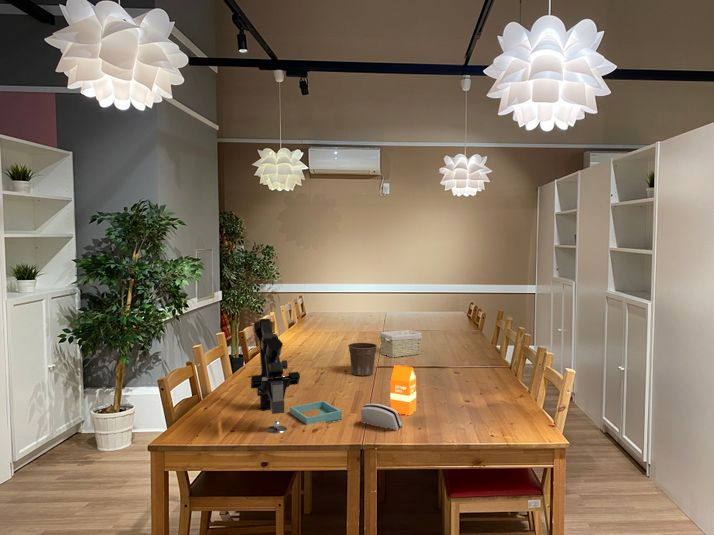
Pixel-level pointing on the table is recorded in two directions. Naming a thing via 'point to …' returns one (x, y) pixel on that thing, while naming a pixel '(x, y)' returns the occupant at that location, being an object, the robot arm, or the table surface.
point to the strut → (277, 398)
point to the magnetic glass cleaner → (380, 416)
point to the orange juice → (403, 390)
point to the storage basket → (400, 343)
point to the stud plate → (272, 430)
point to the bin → (325, 409)
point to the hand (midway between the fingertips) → (277, 399)
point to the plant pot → (362, 358)
